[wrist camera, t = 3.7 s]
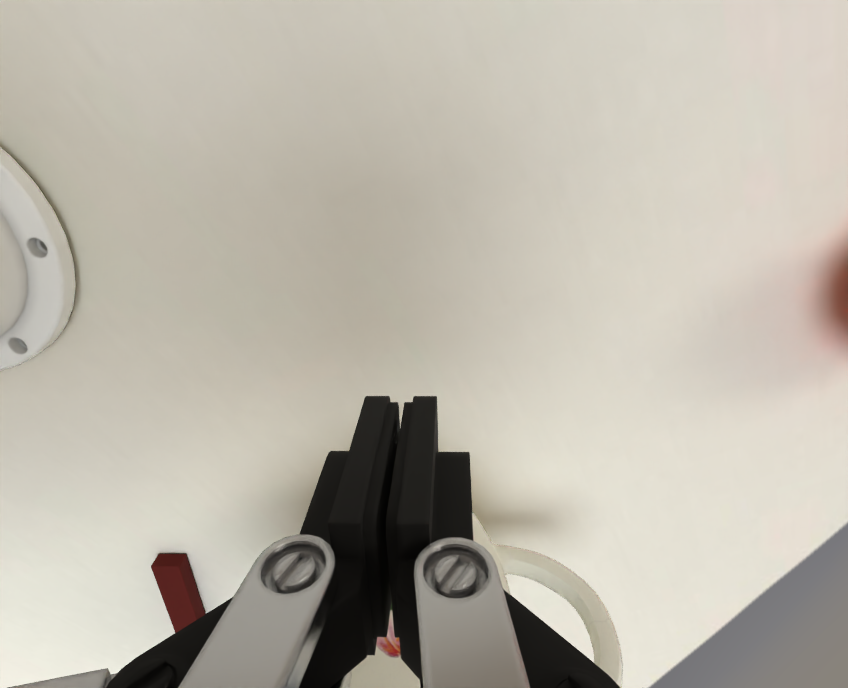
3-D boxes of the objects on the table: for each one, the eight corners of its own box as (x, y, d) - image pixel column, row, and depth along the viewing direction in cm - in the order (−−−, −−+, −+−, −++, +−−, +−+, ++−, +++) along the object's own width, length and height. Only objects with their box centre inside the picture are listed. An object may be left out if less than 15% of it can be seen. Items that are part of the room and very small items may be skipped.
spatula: (207, 739, 41) (202, 753, 40) (137, 553, 32) (128, 566, 31) (263, 740, 41) (259, 754, 40) (208, 553, 32) (201, 566, 31)
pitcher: (569, 583, 32) (649, 887, 20) (288, 583, 33) (195, 875, 21) (587, 441, 27) (706, 725, 15) (257, 445, 28) (112, 717, 16)
